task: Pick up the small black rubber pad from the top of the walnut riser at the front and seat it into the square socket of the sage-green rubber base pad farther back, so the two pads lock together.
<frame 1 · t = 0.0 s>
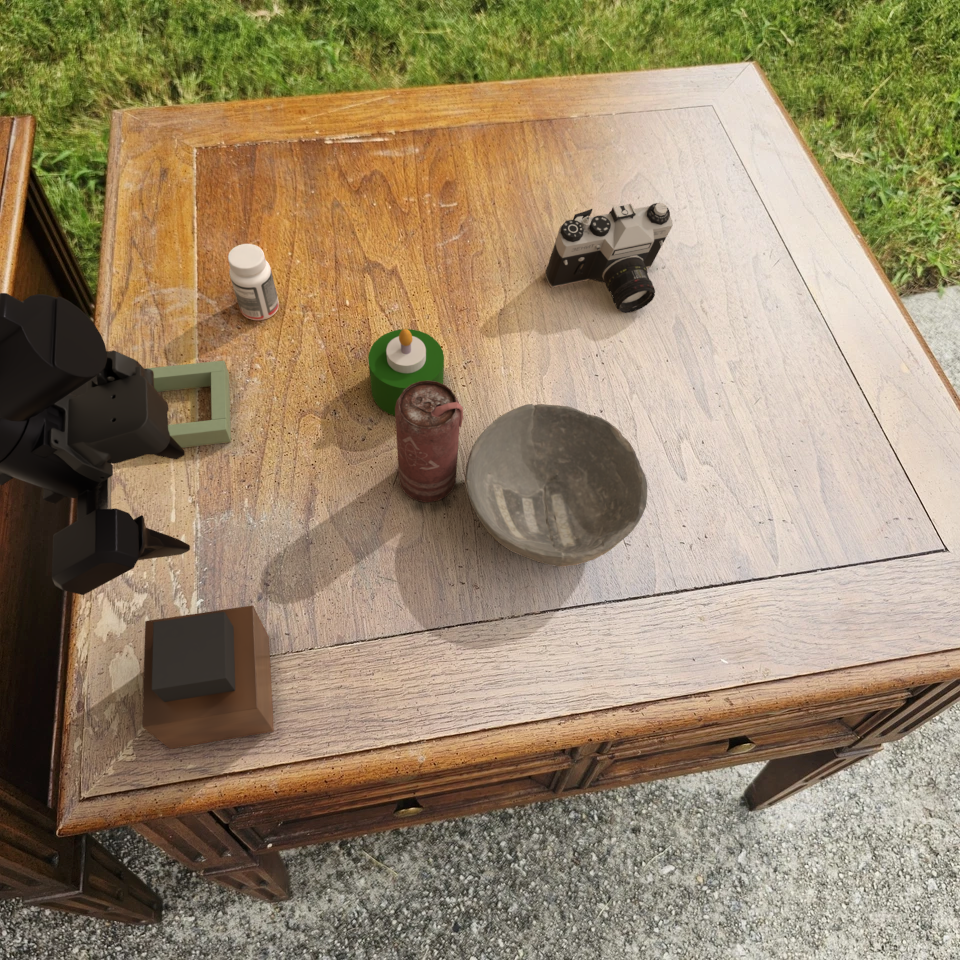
hand: (183, 501, 66), 14 cm above the table, tool tilted 35°, fingers open, 9 cm apart
base pad: (186, 412, 88), on the table
pill bottle: (259, 308, 96), on the table
can: (428, 480, 85), on the table
candle: (407, 389, 91), on the table
bowl: (545, 512, 84), on the table
camera: (608, 289, 101), on the table
black pad: (199, 663, 65), point 8 cm above the table, touching riser
riser: (221, 690, 72), on the table
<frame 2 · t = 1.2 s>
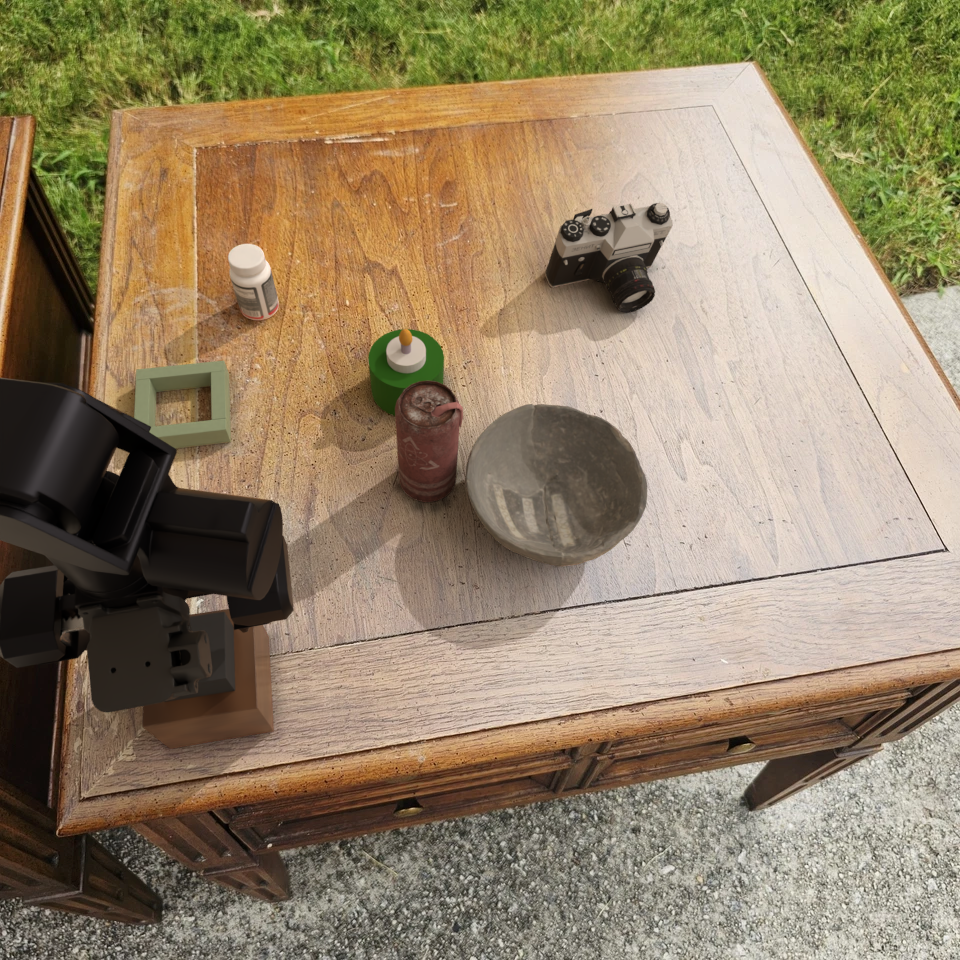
hand: (184, 637, 61), 13 cm above the table, tool pointing down, fingers open, 9 cm apart
nothing on the table moved.
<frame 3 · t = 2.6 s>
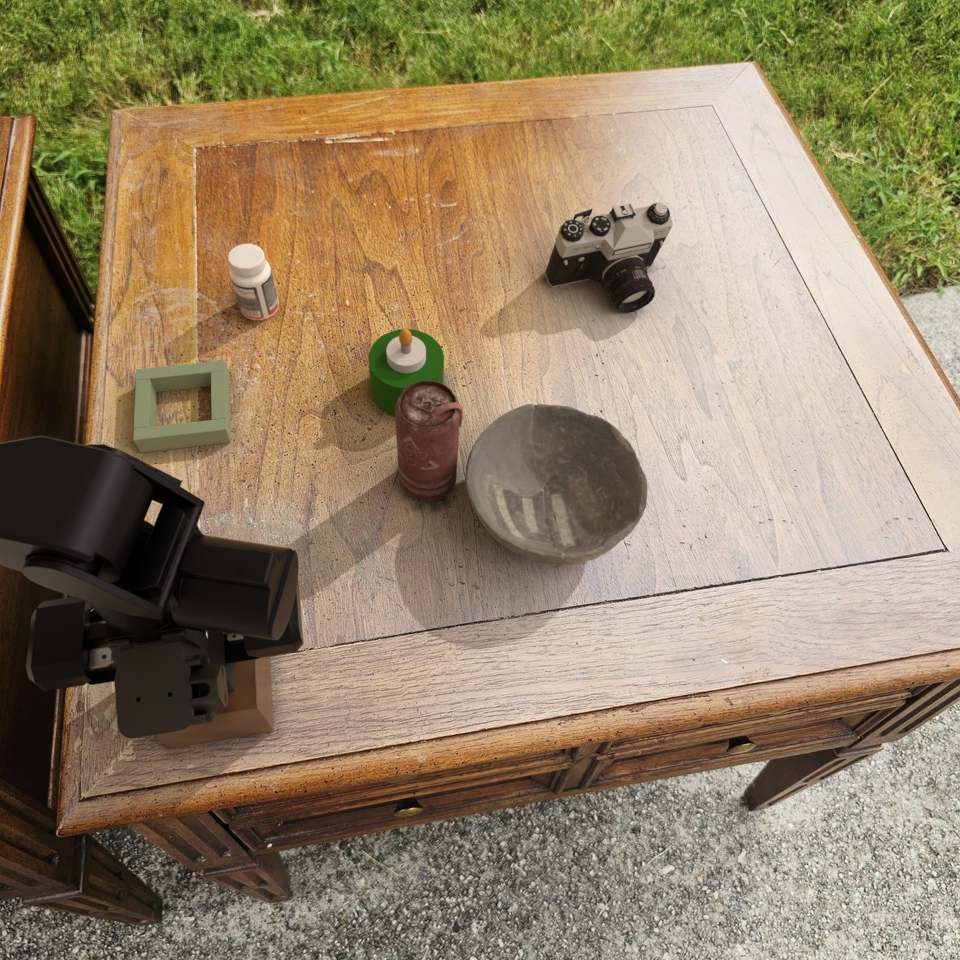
hand: (198, 662, 65), 8 cm above the table, tool pointing down, fingers closed on black pad, 5 cm apart
black pad: (199, 663, 65), point 8 cm above the table, touching gripper, riser
everything else where it was.
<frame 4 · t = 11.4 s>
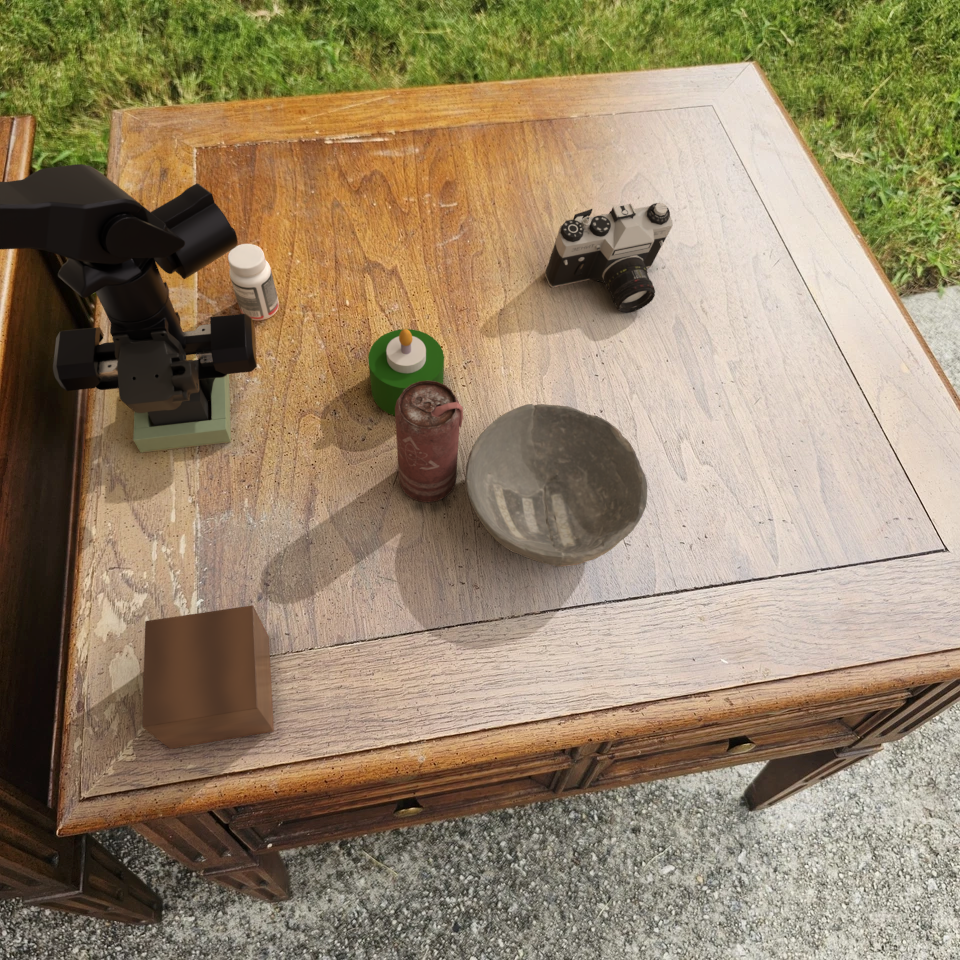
hand: (180, 400, 86), 2 cm above the table, tool pointing down, fingers closed on black pad, 5 cm apart
black pad: (181, 402, 86), point 2 cm above the table, touching gripper
everything else where it was.
when the fingers open (3 cm above the table, at t = 15.1 s): black pad drops 2 cm, resting in base pad.
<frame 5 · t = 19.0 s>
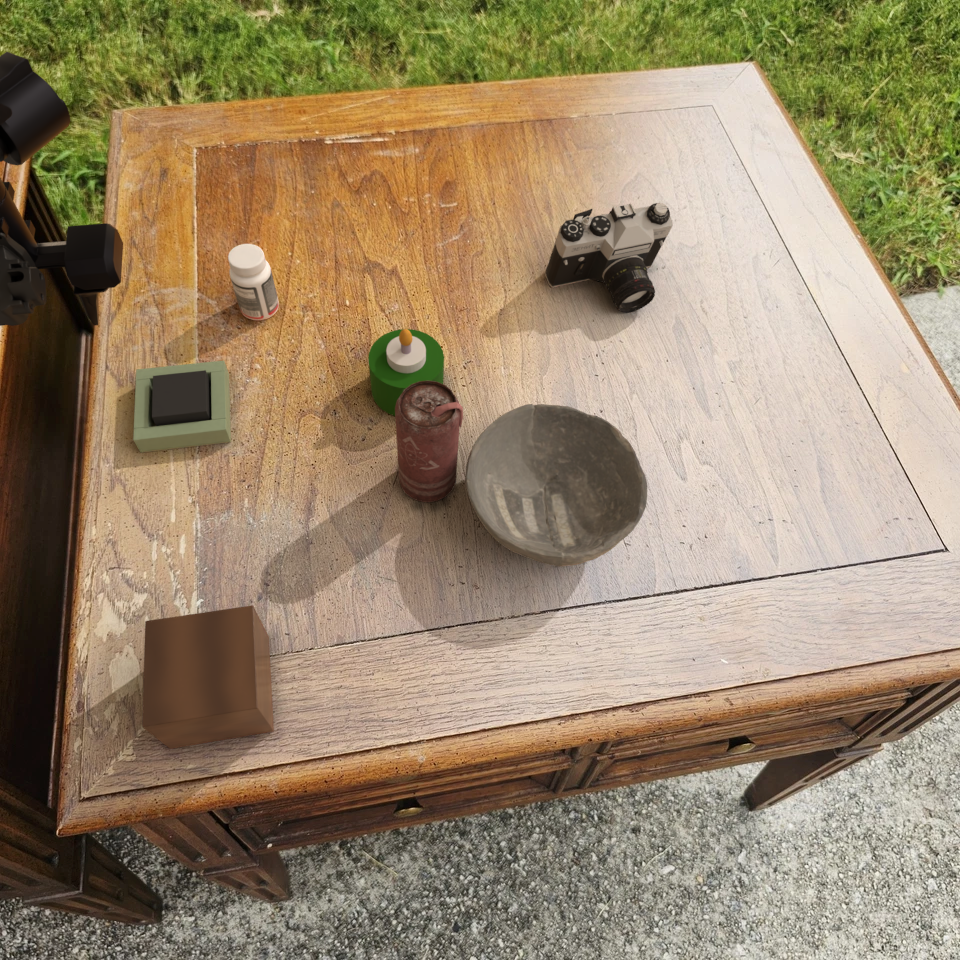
hand: (47, 326, 77), 12 cm above the table, tool pointing down, fingers open, 9 cm apart
black pad: (187, 412, 88), resting in base pad
everything else where it was.
at the end: black pad 0.1 cm off-centre in the base pad, point 0.0 cm above the base pad's base; black pad tilted 0°; the gripper is holding nothing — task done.
